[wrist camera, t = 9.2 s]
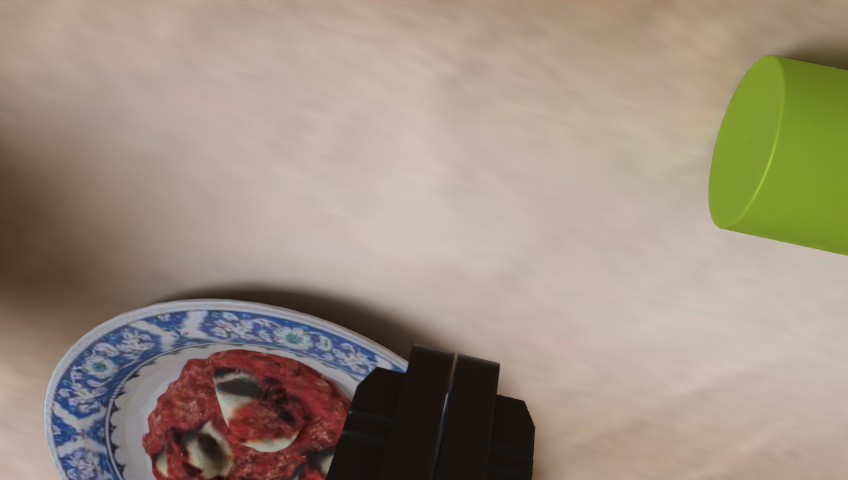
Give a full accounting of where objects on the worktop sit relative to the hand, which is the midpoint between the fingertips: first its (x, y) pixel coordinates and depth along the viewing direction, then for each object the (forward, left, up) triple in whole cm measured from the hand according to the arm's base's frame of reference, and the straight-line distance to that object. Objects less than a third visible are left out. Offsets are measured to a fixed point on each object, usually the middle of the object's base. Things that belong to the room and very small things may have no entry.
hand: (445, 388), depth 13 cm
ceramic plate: (+26, -7, -18) cm, 33 cm away
